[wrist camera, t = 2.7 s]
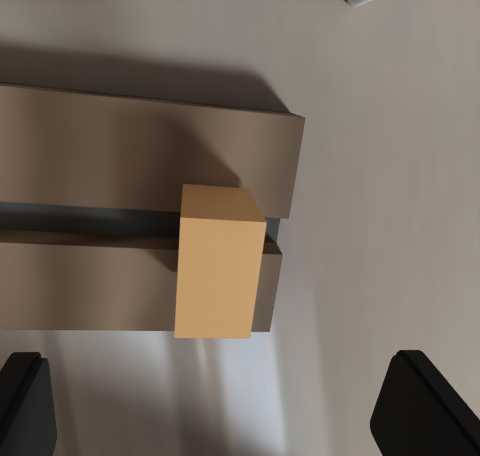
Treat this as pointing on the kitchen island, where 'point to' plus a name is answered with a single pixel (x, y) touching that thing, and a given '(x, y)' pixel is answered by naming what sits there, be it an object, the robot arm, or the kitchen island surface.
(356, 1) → the container
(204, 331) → the fader tab
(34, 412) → the robot arm
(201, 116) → the slider console
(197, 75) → the kitchen island surface
